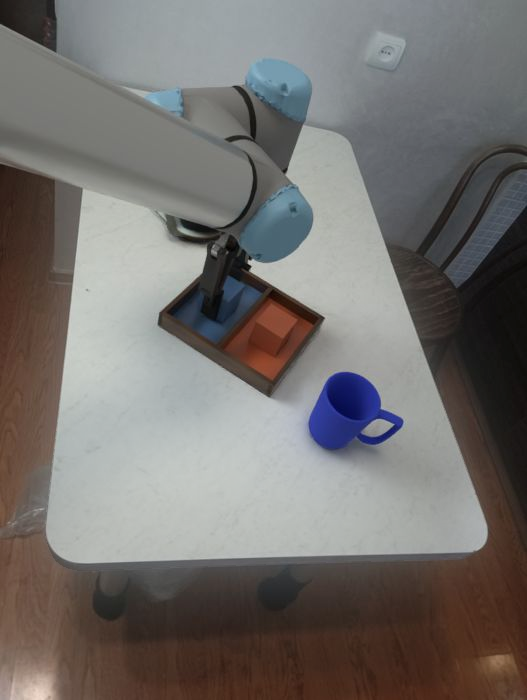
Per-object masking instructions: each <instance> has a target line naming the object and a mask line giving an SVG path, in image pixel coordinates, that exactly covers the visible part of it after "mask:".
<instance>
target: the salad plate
mask: <svg viewBox="0 0 527 700" xmlns="http://www.w3.org/2000/svg"><path fill="white" fill-rule="evenodd" d="M155 212H156V213H157V214H158V215H159V216H160V217H161V218H162V219H163V221H165V224H166V227H167V230H168V232H169V234H171V235H172V236H173V237H174V238H175V237H181V238H183V239H185V240H187V241H192V242H197V243H208V242H209V241H215V240H218V239H219V236H220V231H219V230H216V229H214V228H211V227H208V226H205V225H202V224H198V223H195V222H192V221H189V220H185V219H182V218H179V217H175V216H172V215H169V214H166V213H162V212H159V211H156V210H155Z"/></svg>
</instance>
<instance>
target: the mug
mask: <svg viewBox="0 0 527 700" xmlns="http://www.w3.org/2000/svg"><path fill="white" fill-rule="evenodd" d="M381 407H382V400H381V396H380V394H379V392H378V389H377V388H376V387H375V385H374V384H373V383H372V382H371V381H370V380H368V379H367V378H366V377H364V376H362V375H361V374H358V373H355V372H352V371H339V372H336V373H334V374H332V375H331V376H329V377H328V378H327V379H326V380H325V383H324V385H323V387H322V390H321V391H320V393H319V396H318V398H317V400H316V403H315V404H314V407H313V409H312V411H311V413H310V415H309V418H308V431H309V434H310V436H311V437H312V439H313V440H314V441H315V442H316V443H317V444H318V445H319V446H321V447H322V448H325V449H329V450H339V449H342V448H345V447H346V446H347V445H349V444H351V442H353V440H354V439H357V440H358V442H360V443H362V444H365V445H367V446H377V445H380V444H383V443H385V442H386V441H387V440H389V439H391V438H392V437H393V436H394V435H395V434H396V433H398V432H399V431H400V430H401V429H402V428H403V426H404V419H403V418H402V417H401V416H399V415H397V414H395V413H393V412H390V411H389V410H386V409H382V408H381ZM376 420H384V421H386V422H388V423H390V424H392V426H391V427H390V428H389V429H388V430H386V431H385V432H383V433H382V434H380V435H377V436H369V435H366V434H364V433H362V432H363V431H364V430H365V429H366V428H367V427H368V426H369V425H370V424H372V423H373V422H374V421H376Z"/></svg>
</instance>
